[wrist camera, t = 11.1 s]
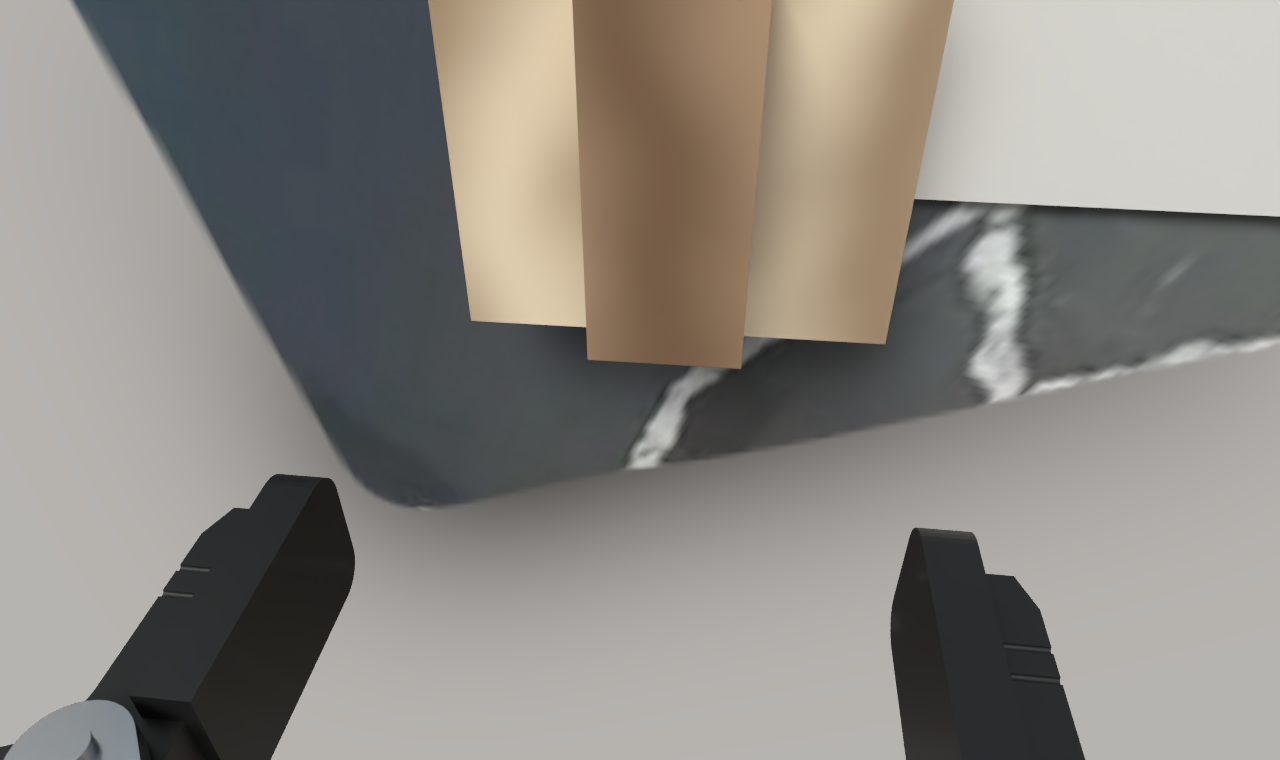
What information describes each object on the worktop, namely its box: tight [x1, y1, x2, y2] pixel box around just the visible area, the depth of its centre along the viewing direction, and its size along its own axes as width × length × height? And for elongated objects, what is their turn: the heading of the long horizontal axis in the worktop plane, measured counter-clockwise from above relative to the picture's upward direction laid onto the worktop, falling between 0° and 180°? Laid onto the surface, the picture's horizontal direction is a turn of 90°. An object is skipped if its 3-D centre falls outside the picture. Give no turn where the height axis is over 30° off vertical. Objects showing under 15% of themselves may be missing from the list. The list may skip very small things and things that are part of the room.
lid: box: [428, 0, 954, 369], centre depth 23 cm, size 13×13×5 cm
